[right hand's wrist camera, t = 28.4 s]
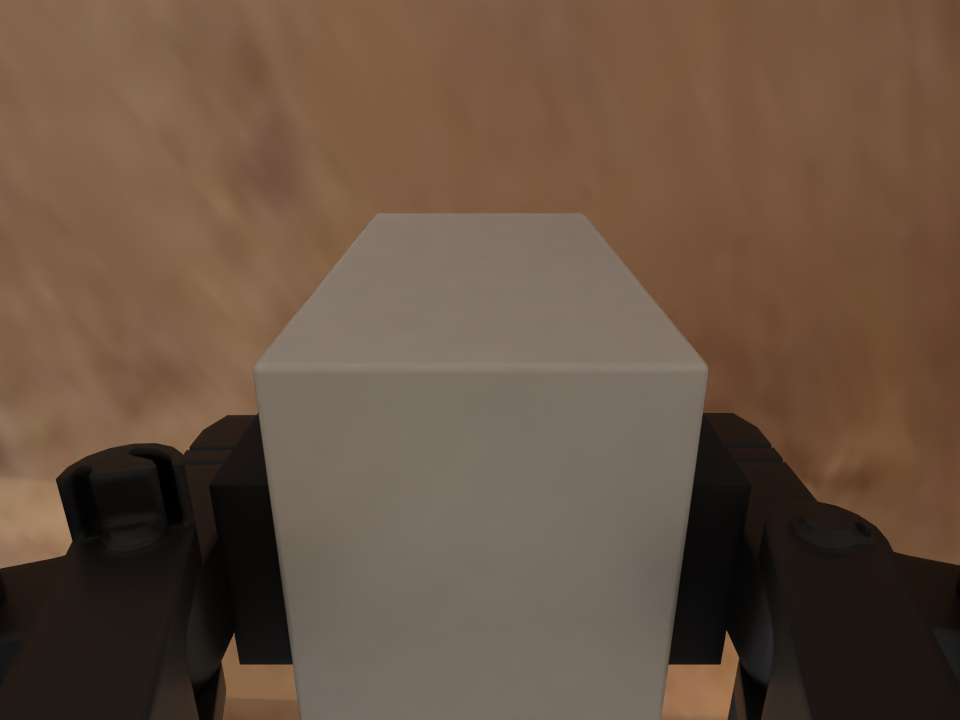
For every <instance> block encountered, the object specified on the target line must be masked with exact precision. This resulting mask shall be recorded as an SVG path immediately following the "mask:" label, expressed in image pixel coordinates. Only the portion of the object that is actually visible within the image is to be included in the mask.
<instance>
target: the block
mask: <svg viewBox="0 0 960 720" xmlns="http://www.w3.org/2000/svg"><path fill="white" fill-rule="evenodd" d="M708 372H709V370H708V367H707V364H706V363H705V361H704V360H703V359H702V358H701V357H700V355H699V354H698V353H697V352H696V350H695V349H694V348H693V347H692V346H691V344H690V343H689V342H688V341H687V339H686V338H685V337H684V336H683V335H682V333H681V332H680V331H679V330H678V328H677V327H676V326H675V325H674V324H673V322H672V321H671V320H670V319H669V317H668V316H667V315H666V314H665V312H664V311H663V310H662V309H661V308H660V306H659V305H658V304H657V303H656V301H655V300H654V299H653V298H652V297H651V295H650V294H649V293H648V292H647V290H646V289H645V288H644V287H643V286H642V284H641V283H640V282H639V281H638V279H637V278H636V277H635V276H634V275H633V273H632V272H631V271H630V270H629V268H628V267H627V266H626V265H625V264H624V262H623V261H622V260H621V259H620V257H619V256H618V255H617V254H616V252H615V251H614V250H613V249H612V248H611V246H610V245H609V244H608V243H607V241H606V240H605V239H604V238H603V237H602V235H601V234H600V233H599V232H598V230H597V229H596V228H595V227H594V226H593V224H592V223H591V222H590V221H589V219H588V218H587V217H586V216H585V215H584V214H582V213H378V214H376V215H375V216H374V217H373V219H372V220H371V221H370V222H369V224H368V225H367V226H366V227H365V228H364V230H363V231H362V232H361V233H360V235H359V236H358V237H357V238H356V240H355V241H354V242H353V243H352V245H351V246H350V247H349V248H348V250H347V251H346V252H345V253H344V254H343V256H342V257H341V258H340V259H339V261H338V262H337V263H336V264H335V266H334V267H333V268H332V269H331V271H330V272H329V273H328V274H327V276H326V277H325V278H324V279H323V280H322V282H321V283H320V284H319V285H318V287H317V288H316V289H315V290H314V292H313V293H312V294H311V295H310V297H309V298H308V299H307V300H306V302H305V303H304V304H303V305H302V306H301V308H300V309H299V310H298V311H297V313H296V314H295V315H294V316H293V318H292V319H291V320H290V321H289V323H288V324H287V325H286V326H285V327H284V329H283V330H282V331H281V332H280V334H279V335H278V336H277V337H276V339H275V340H274V341H273V342H272V344H271V345H270V346H269V347H268V349H267V350H266V351H265V352H264V353H263V355H262V356H261V357H260V358H259V360H258V361H257V362H256V363H255V365H254V368H253V376H254V383H255V390H256V398H257V405H258V412H259V420H260V427H261V434H262V442H263V449H264V456H265V464H266V471H267V478H268V486H269V493H270V500H271V508H272V515H273V522H274V530H275V537H276V544H277V552H278V559H279V566H280V574H281V581H282V588H283V596H284V603H285V610H286V618H287V625H288V632H289V639H290V647H291V654H292V661H293V669H294V676H295V683H296V691H297V698H298V705H299V713H300V720H661V714H662V707H663V700H664V692H665V685H666V678H667V670H668V663H669V656H670V649H671V641H672V634H673V627H674V619H675V612H676V605H677V598H678V590H679V583H680V576H681V568H682V561H683V554H684V547H685V539H686V532H687V525H688V517H689V510H690V503H691V496H692V488H693V481H694V474H695V466H696V459H697V452H698V444H699V437H700V430H701V423H702V415H703V408H704V401H705V393H706V386H707V379H708Z"/></svg>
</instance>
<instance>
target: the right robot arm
mask: <svg viewBox="0 0 960 720" xmlns="http://www.w3.org/2000/svg"><path fill="white" fill-rule="evenodd" d="M56 482H57V485H58V489H59V493H60V497H61V500H62V504H63V508H64V511H65V515H66V519H67V522H68V526H69V530H70V533H71V537H72V543H71V545H70V547H69V549H68V551H67V553H66V555H65V556H61V557H57V558H53V559H48V560H43V561H37V562H32V563H27V564H22V565H17V566H12V567H7V568H1V569H0V720H223V712H224V704H225V696H226V685H225V678H224V673H223V667H222V662H221V660H222V658H223V656H224V654H225V652H226V649H227V647H228V645H229V643H230V640H231V638H232V636H233V634H234V633H235V639H236V644H237V650H238V656H239V662H240V664H293V661H292V654H291V647H290V639H289V632H288V625H287V618H286V610H285V603H284V596H283V588H282V581H281V574H280V566H279V559H278V552H277V544H276V537H275V530H274V522H273V515H272V508H271V500H270V493H269V486H268V478H267V471H266V464H265V456H264V449H263V442H262V434H261V427H260V420H259V412H258V414H257V415H227V416H226V417H224V418H222V419H221V420H219V421H217V422H216V423H214V424H212V425H211V426H209V427H207V428H206V429H204V430H203V431H202V432H201V433H200V435H199V436H198V437H197V438H196V440H195V441H194V442H193V443H192V445H191V446H190V450H187V451H186V452H185V453H184V455H183V454H182V453H180V452H179V451H178V450H176V449H175V448H173V447H171V446H166V445H161V444H157V443H145V444H130V445H125V446H119V447H114V448H109V449H106V450H104V451H101V452H98V453H95V454H92V455H89V456H87V457H85V458H83V459H81V460H79V461H78V462H76V463H74V464H72V465H71V466H69V467H67V468H66V469H65V470H64V471H63V472H62V473H61V474H60V475H59V476H58V477H57V478H56ZM726 630H727V632H728V634H729V636H730V638H731V640H732V643H733V645H734V647H735V649H736V651H737V654H738V656H739V662H738V667H737V673H736V678H735V683H734V689H733V694H732V699H731V705H730V710H729V715H728V720H960V565H954V564H949V563H944V562H939V561H934V560H928V559H923V558H918V557H913V556H908V555H904V554H900V553H896V552H893V550H892V548H891V546H890V544H889V542H888V540H887V539H886V538H885V537H884V535H883V534H882V533H881V532H880V531H879V529H878V528H877V527H876V526H874V525H873V524H871V523H870V522H868V521H867V520H865V519H864V518H862V517H861V516H859V515H858V514H855V513H853V512H850V511H848V510H845V509H843V508H840V507H838V506H835V505H830V504H826V503H821V502H817V500H816V499H815V498H814V497H813V495H812V494H811V493H810V492H809V490H808V489H807V488H806V487H805V486H804V484H803V483H802V482H801V481H800V479H799V478H798V477H797V476H796V474H795V473H794V472H793V471H792V470H791V468H790V467H789V466H788V465H787V463H786V462H783V458H782V457H781V456H780V455H779V454H778V452H777V451H776V450H775V449H774V448H771V444H770V442H769V441H768V440H767V439H766V438H765V436H764V435H763V434H762V433H761V431H760V430H759V429H758V428H757V427H756V426H754V425H752V424H751V423H749V422H747V421H746V420H744V419H742V418H741V417H739V416H737V415H736V414H734V413H703V415H702V423H701V430H700V437H699V444H698V452H697V459H696V466H695V474H694V481H693V488H692V496H691V503H690V510H689V517H688V525H687V532H686V539H685V547H684V554H683V561H682V568H681V576H680V583H679V590H678V598H677V605H676V612H675V619H674V627H673V634H672V641H671V649H670V656H669V663H668V664H721V658H722V653H723V647H724V641H725V636H726Z"/></svg>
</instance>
